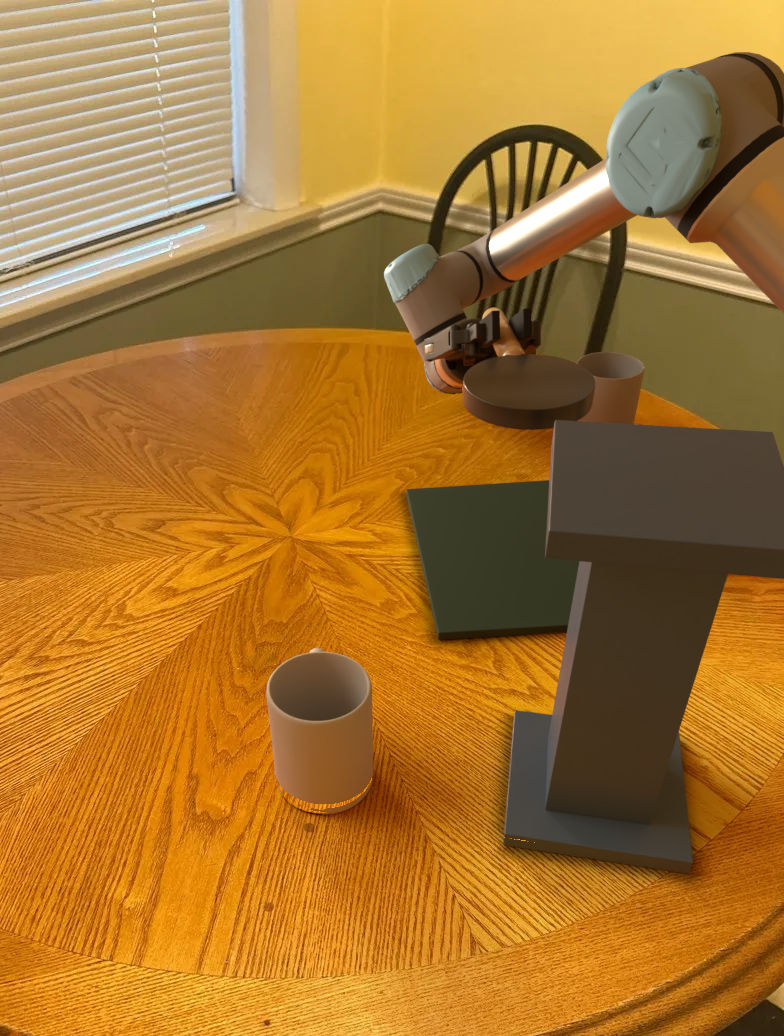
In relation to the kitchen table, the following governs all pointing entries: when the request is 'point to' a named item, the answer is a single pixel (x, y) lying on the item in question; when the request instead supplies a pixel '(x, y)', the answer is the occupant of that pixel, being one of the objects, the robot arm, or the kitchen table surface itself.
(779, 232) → the robot arm
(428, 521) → the mat
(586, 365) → the cup
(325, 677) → the mug
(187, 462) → the kitchen table surface
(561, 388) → the brown paddle
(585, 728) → the stand
